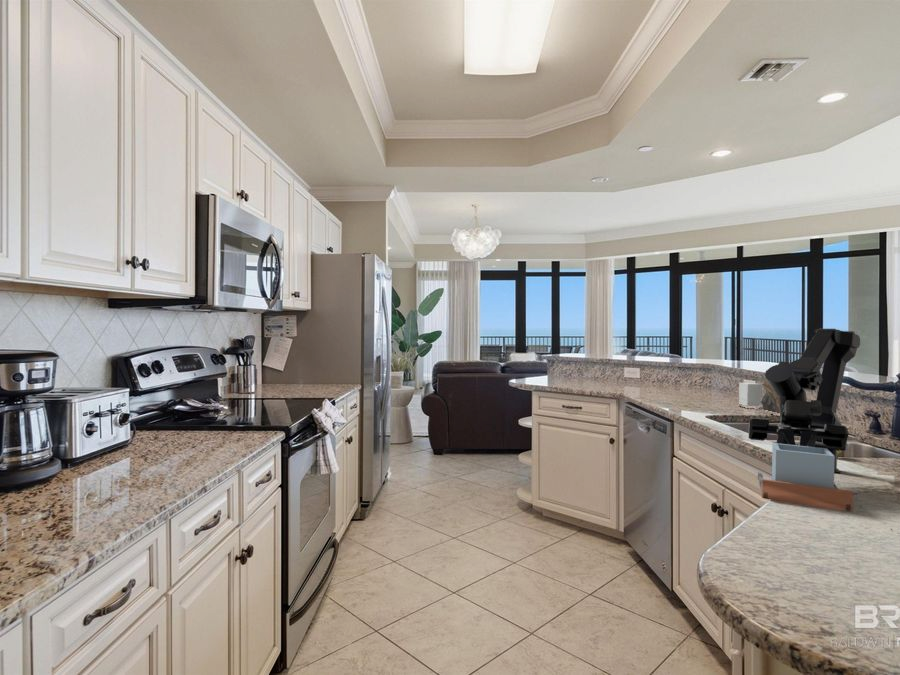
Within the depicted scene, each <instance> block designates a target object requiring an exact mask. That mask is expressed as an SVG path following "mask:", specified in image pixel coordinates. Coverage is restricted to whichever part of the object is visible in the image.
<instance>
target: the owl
mask: <svg viewBox="0 0 900 675" xmlns="http://www.w3.org/2000/svg"><path fill="white" fill-rule="evenodd" d="M763 388H764V390H765V393H764V395H763V396H762V397H763V398H761V407H762V409H764V410H768V411H772V412H777V413H780V412H779V398H778V395H776V394H775V393H774V392H773V390H772V388H771V386H770V384H769V382H768V381H767V379H766V378H765V380H764V382H763ZM764 410H763V411H764Z"/></svg>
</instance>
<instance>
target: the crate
mask: <svg viewBox="0 0 900 675" xmlns="http://www.w3.org/2000/svg"><path fill="white" fill-rule="evenodd" d="M771 447H772V448H771V449H772V451H771V452H772V456H771V457H772V458H771V480H773V481H780V482H788V483H795V484H803V485H810V486H818V487H825V488H833V489H834V484H835V473H834V463H835V456H834V455H833V454H832V453H831V452H830V451H829V450H828V449H827V448H817V447H808V446H799V444H798V445H797V444H796V445H788V444H779V443H777V442H772V446H771Z"/></svg>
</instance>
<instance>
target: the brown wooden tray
mask: <svg viewBox="0 0 900 675" xmlns="http://www.w3.org/2000/svg"><path fill="white" fill-rule="evenodd" d="M757 480H758V483H759V484H758V485H759V487H760V491H761V499H765V500H771V501H779V502H784V503H785V502H786V503H792V504H798V505H804V506H811V507H813V506H814V507H819V508H825V509H830V510H831V509H833V510H839V511H846V512H853V500H854V499H853V490H845V489H841V488H840V489H839V487H838V486H837V484H835V483H834V489H833V488H825V487H818V486H810V485H803V484H795V483H788V482H780V481H773V480H772V479H771V480H770V479H765V478H764V476H763V472H759V471H758V472H757Z"/></svg>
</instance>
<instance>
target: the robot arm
mask: <svg viewBox="0 0 900 675" xmlns="http://www.w3.org/2000/svg"><path fill="white" fill-rule="evenodd" d="M860 346H861V337H860V336H859V335H858V334H857V333H855V331H853V330H852V331H851V330H840V329H836V328H818V329H815V330H814V331H813V337H812V338H811V340H810V342H809V343H808V345H807V347H806V348H805V349H804V351H803V352H802V354H801V356H800V357H799V359H796V360H793V361H790V362H789V361H782V360H780V361H779V362H778V364H776V365H775V364H774V365H772V366H770V367H769V368H768V369H766V371H765V373H764V377H765V380H766V379H767V381H768V382H769V384H770V386H771V388H772V390H773V392H774V393H775V394H776V395H778V398H779V412H780V417H779V421H780V422H779V423H778V424H777V425H770V420H769V418H761V417H751V418H750V419H749V422H748V432H747V433H748V439H750V440H752V441H753V440H754V441H762V442H764V441H765V440H767V439H768V435H772V436H773V435H774V436H776V443H779V444H788V445H797V444H796V441H795V438H799V441H798V446H808V447H817V448H827V449H828V450H829V451H830V452H831V453H832V454H833V455H834V456H835V463H834V474H837V475H838V474H839V475H840V474H841V470H839V468H838V454H837V451H842V452H843V451H845V452H846V451H847V446H848V445H847V444H848V437H849V430H848V427H846V426H845V425H843V424H842V423H841V420H840V419H839V417H838V414H837V409H838V406H839V401H840V396H841V389H842V385H843V380H844V375H845V370H846V366H847V363H848V362H850V361H851V360H853V358H854V357H856V353H857V350H858V349H859V348H860ZM822 366H823V367H822ZM821 368H822V370H821ZM816 390H817V393H816V394H817V395H816V400H815V399H814V400H813V399H811V400H809V401H808V400H807V393H806V391H816Z"/></svg>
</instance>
